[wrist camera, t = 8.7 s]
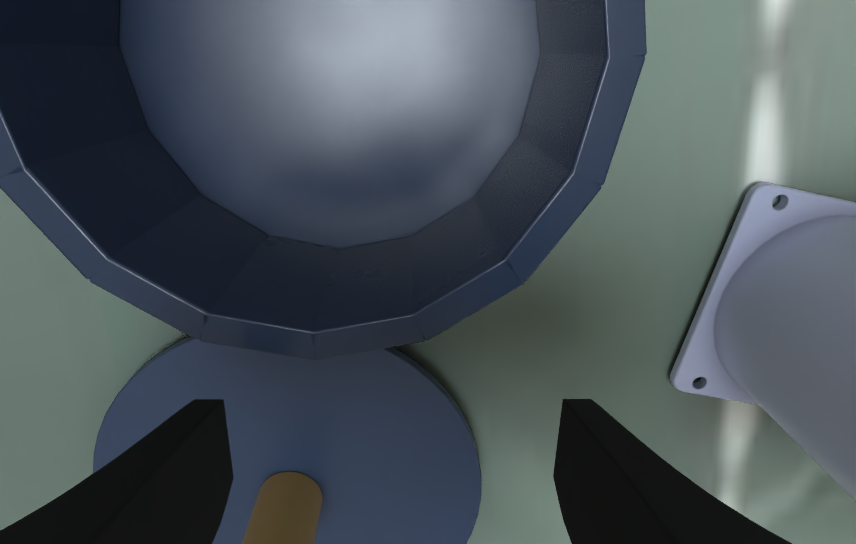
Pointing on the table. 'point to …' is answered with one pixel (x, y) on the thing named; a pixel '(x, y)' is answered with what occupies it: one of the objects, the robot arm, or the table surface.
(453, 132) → the tin
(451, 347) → the table surface
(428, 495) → the tin lid
